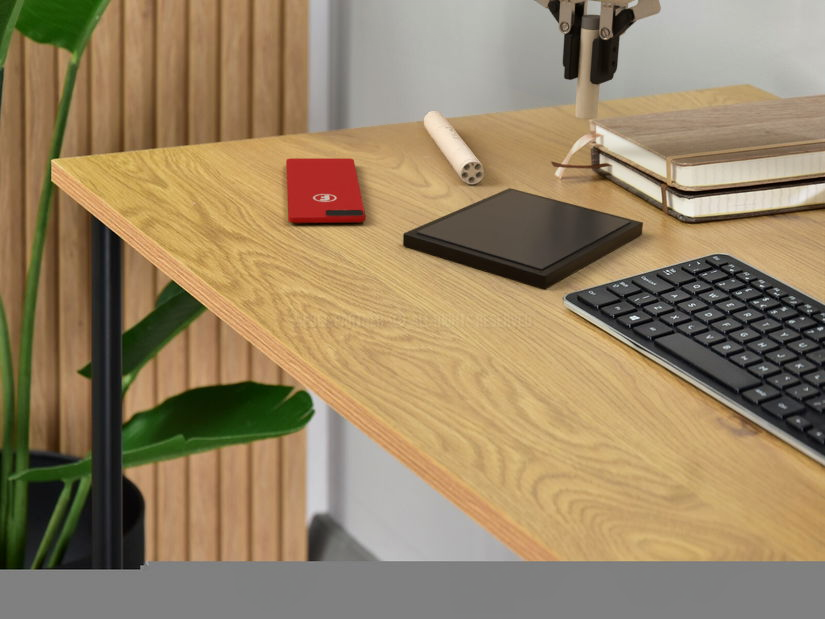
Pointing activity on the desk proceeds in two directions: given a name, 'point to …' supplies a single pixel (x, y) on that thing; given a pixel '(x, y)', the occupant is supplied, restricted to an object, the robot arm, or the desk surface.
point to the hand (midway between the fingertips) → (588, 77)
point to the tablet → (524, 237)
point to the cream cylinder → (454, 148)
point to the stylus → (587, 70)
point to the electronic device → (323, 191)
